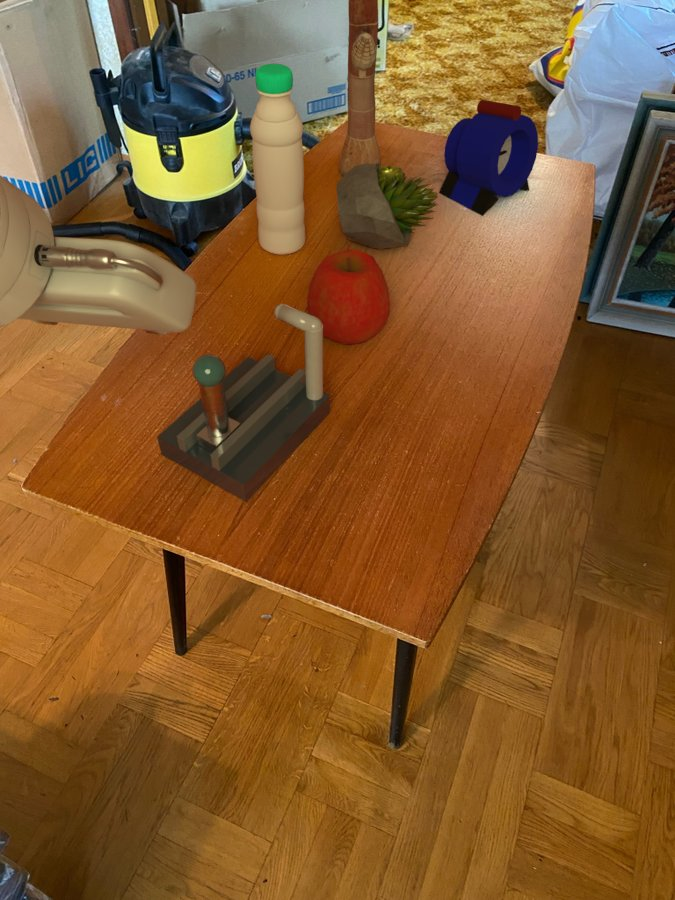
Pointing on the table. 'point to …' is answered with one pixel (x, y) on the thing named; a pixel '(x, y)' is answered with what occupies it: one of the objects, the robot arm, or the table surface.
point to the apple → (349, 297)
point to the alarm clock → (489, 156)
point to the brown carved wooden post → (361, 87)
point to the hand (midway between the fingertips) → (105, 319)
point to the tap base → (256, 416)
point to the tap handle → (213, 402)
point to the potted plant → (381, 205)
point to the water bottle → (278, 162)
